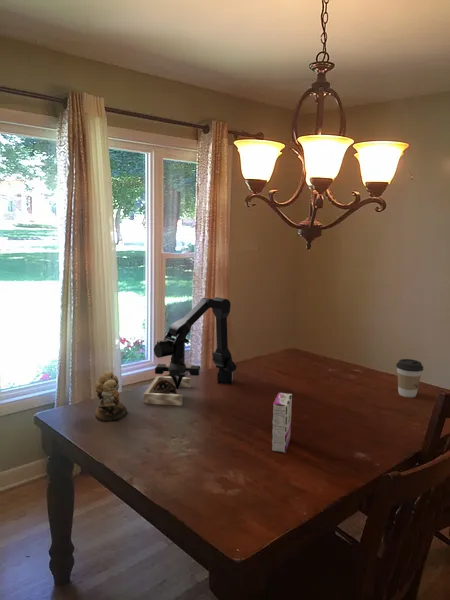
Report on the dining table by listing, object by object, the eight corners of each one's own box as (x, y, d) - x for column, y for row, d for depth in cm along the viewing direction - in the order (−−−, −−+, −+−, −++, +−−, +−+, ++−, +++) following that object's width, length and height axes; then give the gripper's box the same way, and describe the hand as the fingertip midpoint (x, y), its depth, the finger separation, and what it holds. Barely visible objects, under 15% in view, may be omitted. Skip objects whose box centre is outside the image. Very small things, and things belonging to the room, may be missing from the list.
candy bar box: (276, 436, 170) (278, 391, 168) (290, 438, 169) (292, 393, 166) (270, 451, 160) (272, 403, 157) (285, 453, 158) (288, 405, 156)
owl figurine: (128, 422, 179) (127, 378, 176) (95, 425, 176) (93, 380, 173) (125, 404, 196) (124, 363, 193) (95, 406, 193) (94, 365, 190)
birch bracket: (190, 386, 219) (190, 377, 218) (181, 405, 196) (181, 395, 196) (156, 384, 220) (156, 375, 220) (143, 403, 198) (143, 393, 197)
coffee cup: (416, 401, 208) (419, 367, 205) (390, 395, 214) (392, 362, 212) (424, 394, 217) (427, 361, 214) (398, 388, 223) (401, 356, 221)
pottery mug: (181, 399, 204) (175, 385, 200) (161, 410, 202) (154, 397, 198) (172, 383, 214) (165, 370, 210) (153, 394, 212) (146, 381, 208)
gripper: (151, 358, 198) (151, 394, 200) (197, 359, 196) (196, 396, 199) (157, 350, 209) (157, 385, 211) (200, 352, 207) (200, 387, 210)
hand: (177, 389), depth 208 cm, fingers closed
